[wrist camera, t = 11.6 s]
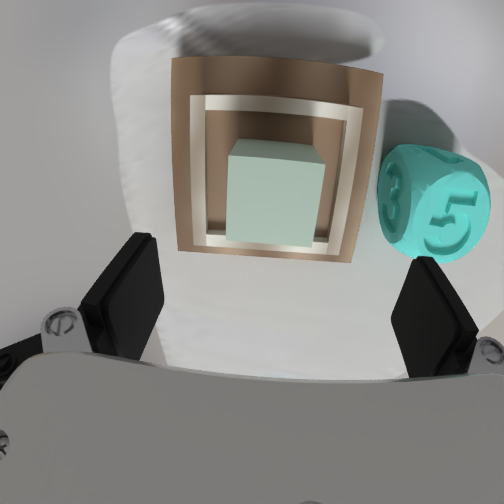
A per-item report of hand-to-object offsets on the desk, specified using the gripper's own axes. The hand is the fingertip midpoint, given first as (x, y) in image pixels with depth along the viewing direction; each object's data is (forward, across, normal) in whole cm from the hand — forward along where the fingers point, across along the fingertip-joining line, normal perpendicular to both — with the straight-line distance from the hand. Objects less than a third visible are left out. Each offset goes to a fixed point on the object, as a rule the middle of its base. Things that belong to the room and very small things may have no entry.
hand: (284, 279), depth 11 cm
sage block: (+12, +1, 0) cm, 12 cm away
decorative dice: (+18, -13, +1) cm, 23 cm away
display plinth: (+18, +1, 0) cm, 18 cm away
